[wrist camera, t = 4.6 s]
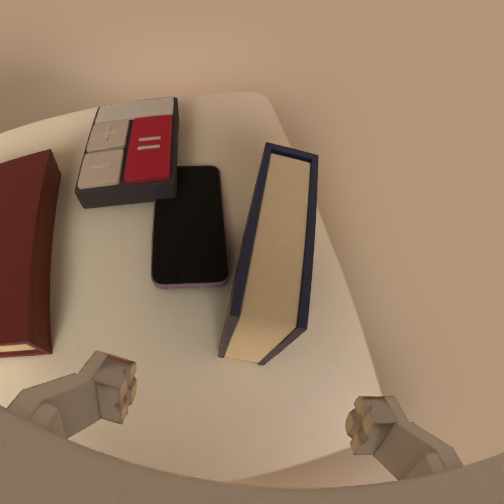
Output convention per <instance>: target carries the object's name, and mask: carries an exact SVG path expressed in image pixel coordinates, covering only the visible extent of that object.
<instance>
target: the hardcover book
mask: <svg viewBox="0 0 504 504" xmlns="http://www.w3.org/2000/svg"><path fill="white" fill-rule="evenodd" d="M317 179H318V155H315V154H311V153H308V152H304V151H300V150H296V149H292V148H288V147H284V146H280V145H276V144H272V143H268V142H266V144H265V148H264V152H263V156H262V161H261V165H260V169H259V173H258V177H257V181H256V185H255V189H254V193H253V197H252V202H251V206H250V210H249V214H248V218H247V222H246V227H245V231H244V235H243V240H242V245H241V249H240V254H239V259H238V263H237V268H236V273H235V277H234V282H233V287H232V291H231V296H230V301H229V306H228V310H227V315H226V320H225V325H224V330H223V334H222V339H221V344H220V349H219V354H218V357H222V358H224V356H225V357H230V358H235V359H240V360H245V361H250V362H255V363H258V365H265V364H266V363H267V362H268V361H270V360H271V359H272V358H273V357H275V356H276V355H277V354H278V353H279V352H281V351H282V350H283V349H284V348H286V347H287V346H288V345H289V344H290V343H292V342H293V341H294V340H295V339H296V338H298V337H299V336H300V335H301V334H302V333H303V332H305V331H306V330H307V324H308V314H309V304H310V293H311V281H312V269H313V256H314V241H315V224H316V205H317Z"/></svg>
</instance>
